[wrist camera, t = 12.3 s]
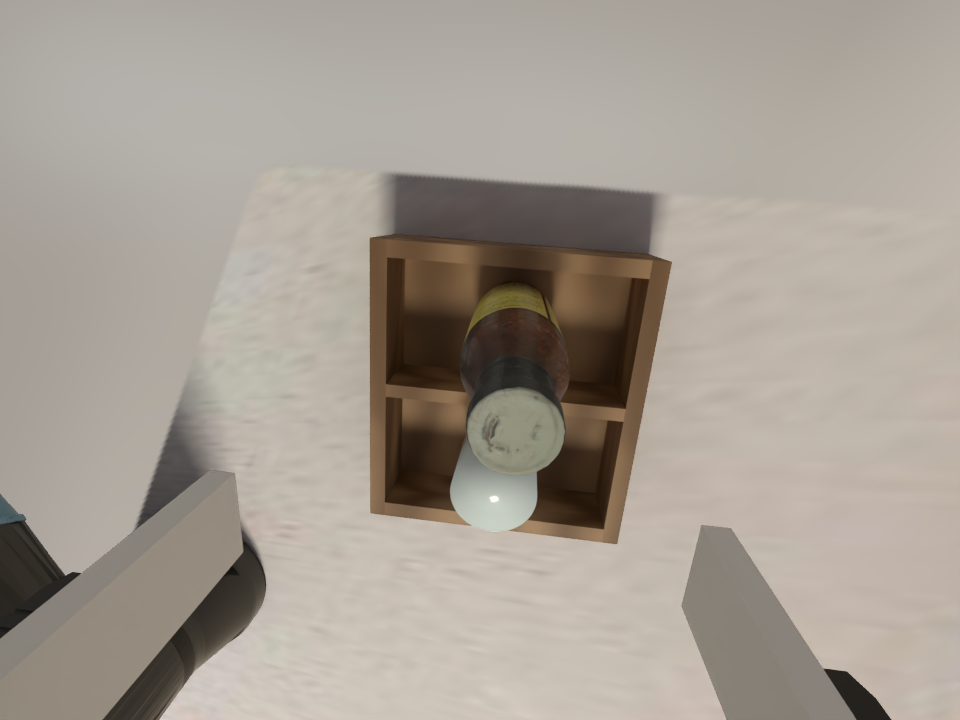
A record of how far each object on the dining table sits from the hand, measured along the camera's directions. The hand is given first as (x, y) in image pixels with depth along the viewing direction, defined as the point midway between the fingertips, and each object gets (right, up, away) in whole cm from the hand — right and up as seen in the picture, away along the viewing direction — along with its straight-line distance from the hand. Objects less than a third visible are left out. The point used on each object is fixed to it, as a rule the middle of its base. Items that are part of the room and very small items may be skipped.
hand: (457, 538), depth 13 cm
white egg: (+2, -2, +27) cm, 27 cm away
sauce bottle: (+3, +8, +24) cm, 26 cm away
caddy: (+3, +4, +27) cm, 27 cm away
